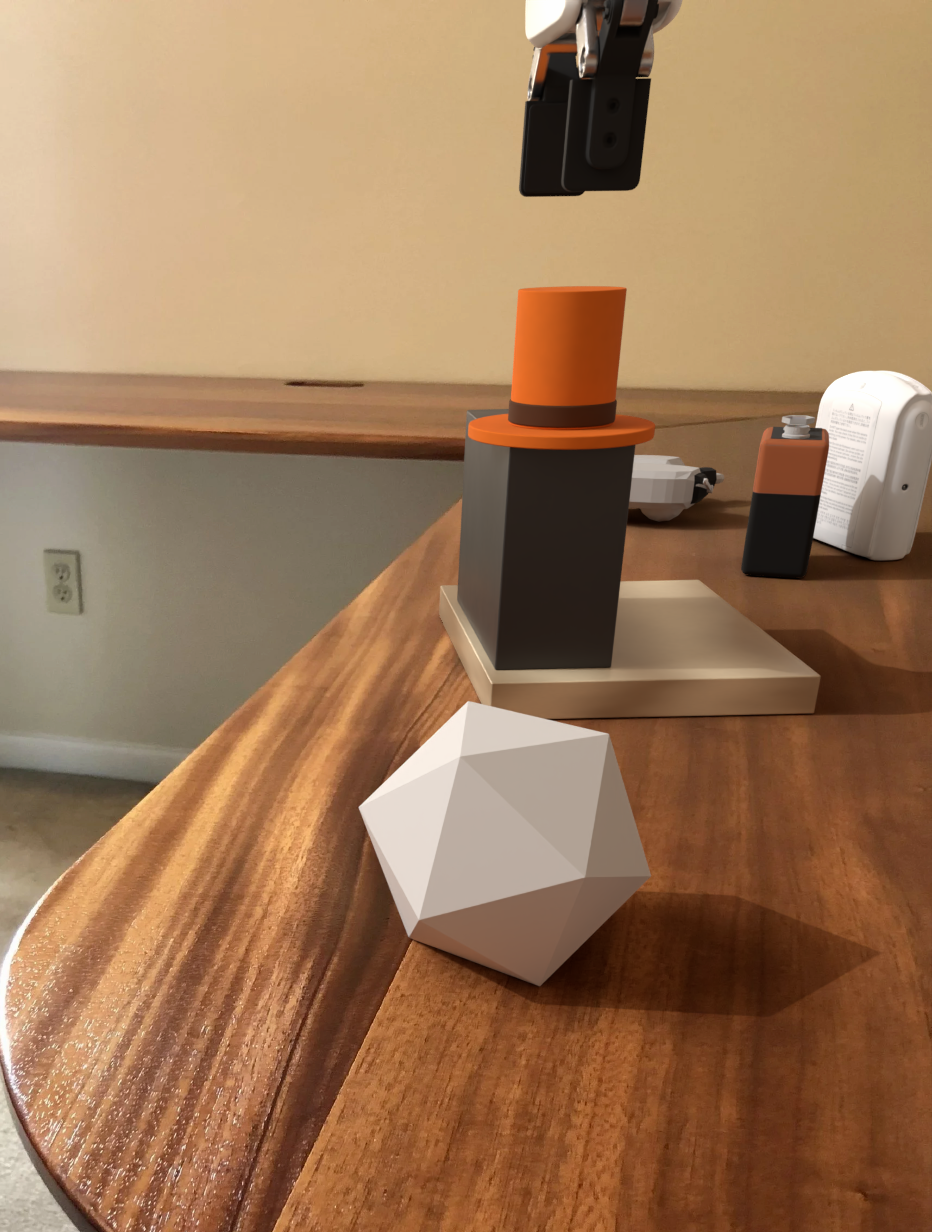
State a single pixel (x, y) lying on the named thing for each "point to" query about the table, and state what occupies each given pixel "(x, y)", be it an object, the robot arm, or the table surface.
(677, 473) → the robot toy
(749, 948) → the table surface
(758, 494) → the battery
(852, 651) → the table surface
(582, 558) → the tall dark grey box
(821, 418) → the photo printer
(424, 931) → the die
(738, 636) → the wooden board
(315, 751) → the table surface
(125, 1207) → the table surface
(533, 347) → the hat
